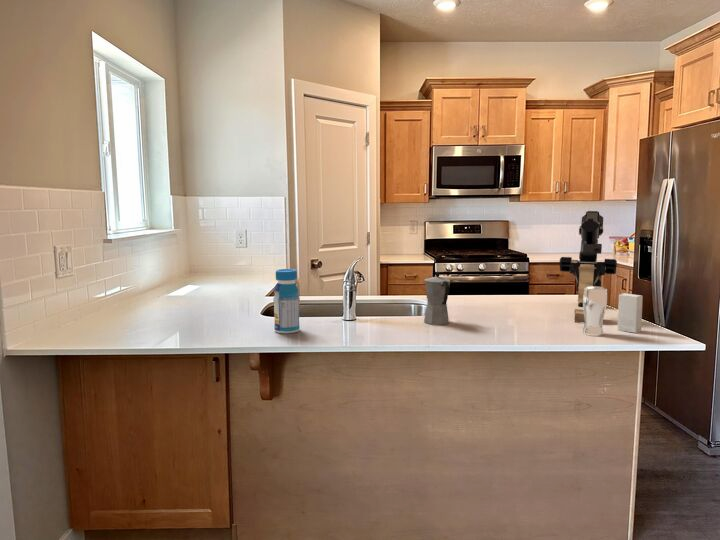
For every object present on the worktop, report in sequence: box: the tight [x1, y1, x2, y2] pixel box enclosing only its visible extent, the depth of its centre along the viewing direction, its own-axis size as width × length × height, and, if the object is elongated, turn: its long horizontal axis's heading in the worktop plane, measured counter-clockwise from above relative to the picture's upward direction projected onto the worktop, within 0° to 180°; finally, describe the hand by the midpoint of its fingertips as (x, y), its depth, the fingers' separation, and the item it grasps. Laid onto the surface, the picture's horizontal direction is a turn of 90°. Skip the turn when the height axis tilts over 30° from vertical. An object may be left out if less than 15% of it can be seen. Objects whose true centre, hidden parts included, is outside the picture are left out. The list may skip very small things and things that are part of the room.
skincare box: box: [617, 292, 644, 334], centre depth 167 cm, size 6×4×12 cm
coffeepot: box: [423, 271, 451, 326], centre depth 177 cm, size 15×9×18 cm, turn 15°
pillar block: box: [577, 264, 594, 303], centre depth 181 cm, size 4×4×13 cm
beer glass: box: [582, 286, 608, 337], centre depth 163 cm, size 7×7×15 cm
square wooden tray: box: [574, 308, 585, 323], centre depth 182 cm, size 9×9×3 cm
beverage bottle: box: [272, 268, 301, 334], centre depth 165 cm, size 8×8×20 cm
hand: (586, 283), depth 180 cm, fingers closed on pillar block, 4 cm apart
